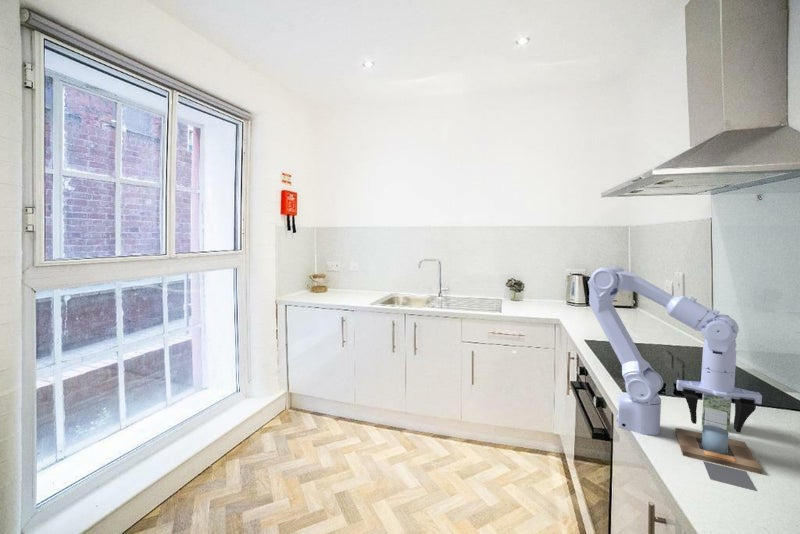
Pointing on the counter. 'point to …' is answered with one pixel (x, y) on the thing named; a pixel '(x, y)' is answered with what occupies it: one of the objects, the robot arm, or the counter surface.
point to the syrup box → (716, 411)
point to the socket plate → (737, 449)
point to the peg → (715, 439)
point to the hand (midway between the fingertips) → (714, 426)
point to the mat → (729, 476)
